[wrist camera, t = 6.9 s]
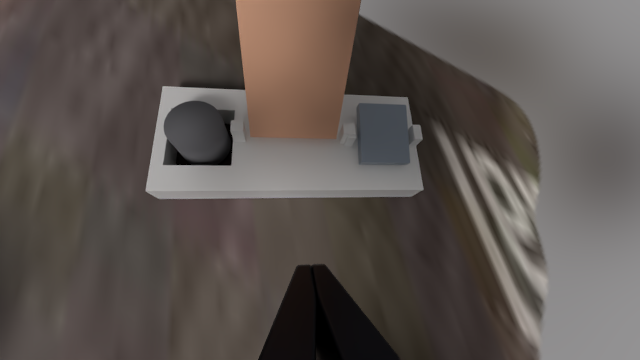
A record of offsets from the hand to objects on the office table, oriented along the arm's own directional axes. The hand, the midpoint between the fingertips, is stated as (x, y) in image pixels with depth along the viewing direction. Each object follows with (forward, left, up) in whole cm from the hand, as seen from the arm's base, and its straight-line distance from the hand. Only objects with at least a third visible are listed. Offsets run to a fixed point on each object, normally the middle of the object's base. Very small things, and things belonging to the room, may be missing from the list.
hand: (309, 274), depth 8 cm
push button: (+11, +2, -11) cm, 16 cm away
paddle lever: (+8, -4, -9) cm, 13 cm away
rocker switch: (+6, -10, -8) cm, 14 cm away
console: (+8, -4, -11) cm, 15 cm away
